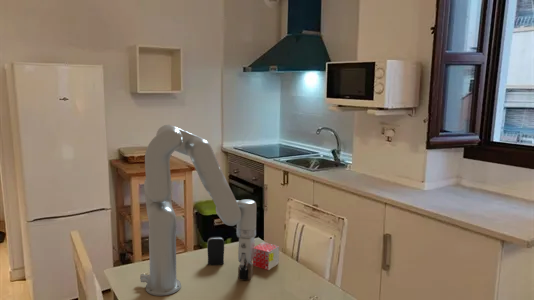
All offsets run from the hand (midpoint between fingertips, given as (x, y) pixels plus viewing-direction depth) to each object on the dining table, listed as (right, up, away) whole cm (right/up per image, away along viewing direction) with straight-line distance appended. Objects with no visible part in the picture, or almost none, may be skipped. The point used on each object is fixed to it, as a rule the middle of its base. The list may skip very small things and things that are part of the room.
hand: (245, 274), depth 168 cm
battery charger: (-13, +1, +12) cm, 18 cm away
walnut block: (0, -1, 0) cm, 1 cm away
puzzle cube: (+8, 0, +12) cm, 14 cm away
